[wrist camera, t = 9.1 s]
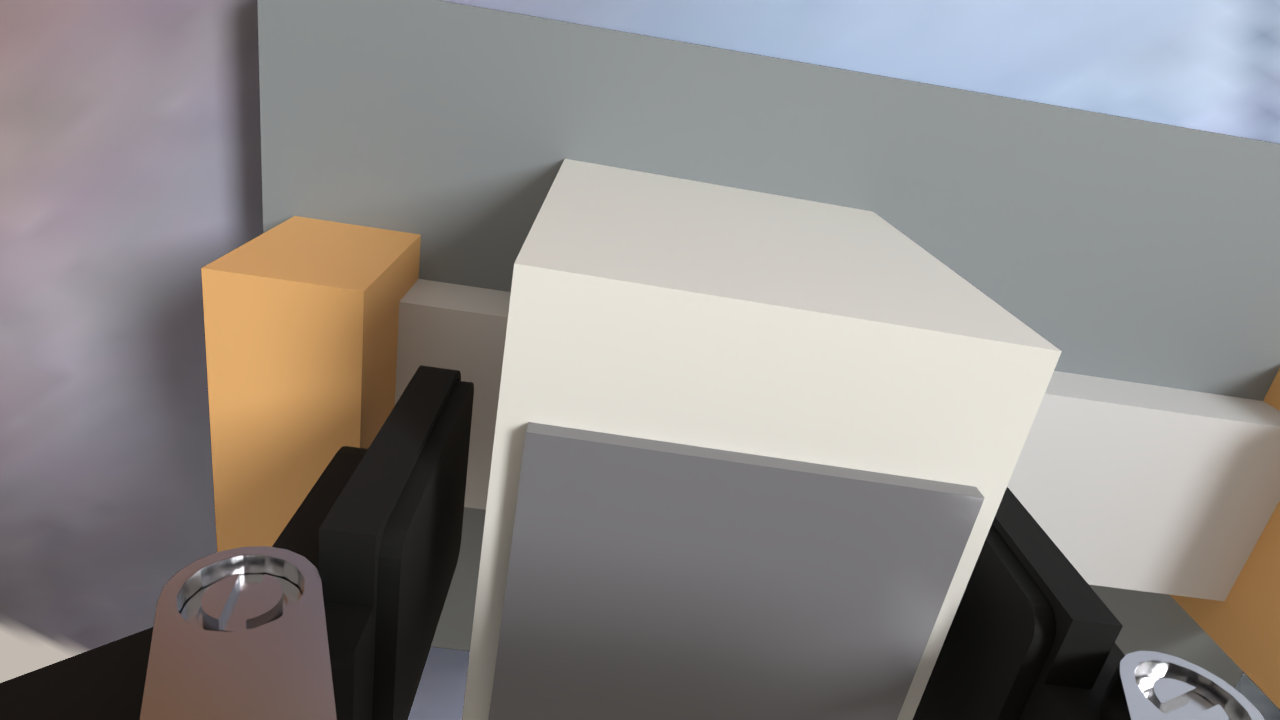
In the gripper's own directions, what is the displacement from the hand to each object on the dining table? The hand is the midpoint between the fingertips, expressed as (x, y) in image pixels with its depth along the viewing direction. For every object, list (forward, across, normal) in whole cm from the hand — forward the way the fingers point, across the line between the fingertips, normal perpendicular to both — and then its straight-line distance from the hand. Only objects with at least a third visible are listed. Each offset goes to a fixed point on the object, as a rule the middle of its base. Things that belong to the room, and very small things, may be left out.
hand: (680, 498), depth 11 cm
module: (+3, 0, 0) cm, 3 cm away
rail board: (+4, -3, 0) cm, 5 cm away
